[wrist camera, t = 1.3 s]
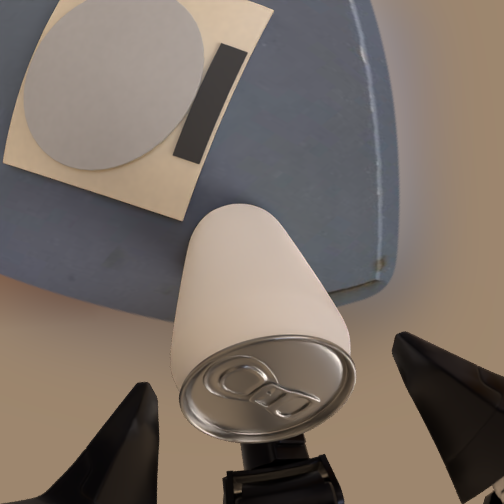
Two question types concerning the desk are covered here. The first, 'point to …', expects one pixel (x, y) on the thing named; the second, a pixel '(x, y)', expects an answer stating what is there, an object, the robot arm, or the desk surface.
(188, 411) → the can
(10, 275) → the desk surface
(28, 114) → the scale
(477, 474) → the robot arm
